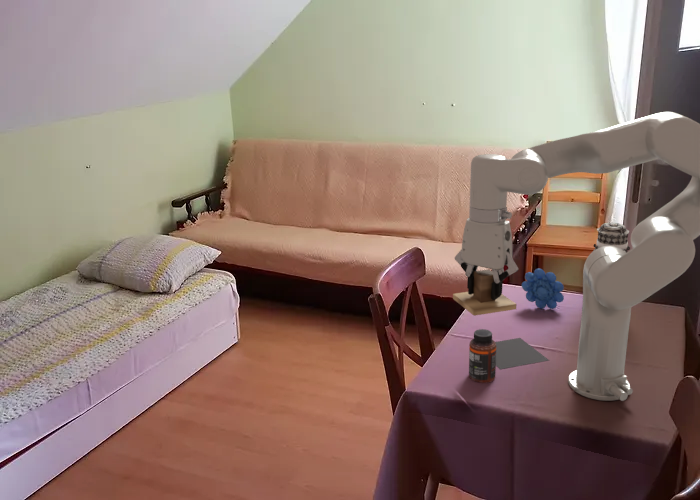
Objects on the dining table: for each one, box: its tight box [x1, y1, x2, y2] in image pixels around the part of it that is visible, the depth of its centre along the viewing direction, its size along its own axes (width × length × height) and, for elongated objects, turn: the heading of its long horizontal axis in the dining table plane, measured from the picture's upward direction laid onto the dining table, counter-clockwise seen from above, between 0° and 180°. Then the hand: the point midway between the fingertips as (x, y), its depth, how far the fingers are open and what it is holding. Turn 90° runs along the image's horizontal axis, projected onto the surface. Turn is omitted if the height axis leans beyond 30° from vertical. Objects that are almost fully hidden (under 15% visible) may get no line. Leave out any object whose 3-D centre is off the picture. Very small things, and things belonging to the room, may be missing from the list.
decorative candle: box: [592, 222, 631, 253], centre depth 173 cm, size 9×9×25 cm
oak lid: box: [452, 268, 517, 317], centre depth 137 cm, size 10×10×7 cm
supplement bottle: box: [468, 328, 497, 384], centre depth 142 cm, size 6×6×11 cm
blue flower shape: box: [521, 267, 565, 310], centre depth 177 cm, size 12×7×12 cm, turn 70°
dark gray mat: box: [495, 337, 550, 370], centre depth 154 cm, size 13×13×1 cm
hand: (484, 294), depth 137 cm, fingers closed on oak lid, 4 cm apart
